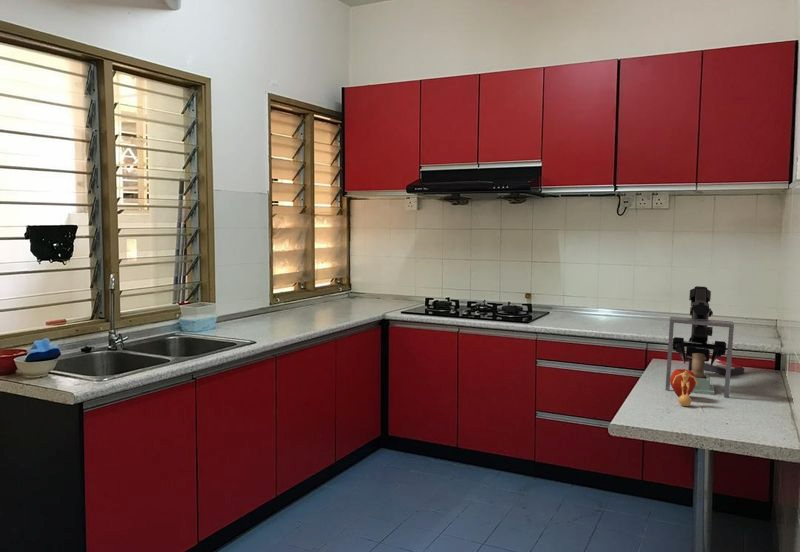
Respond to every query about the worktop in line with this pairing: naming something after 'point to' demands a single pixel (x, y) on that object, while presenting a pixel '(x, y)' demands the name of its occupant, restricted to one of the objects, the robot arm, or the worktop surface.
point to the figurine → (683, 399)
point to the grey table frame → (708, 323)
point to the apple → (677, 382)
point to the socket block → (704, 385)
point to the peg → (698, 365)
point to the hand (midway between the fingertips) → (698, 363)
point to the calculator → (722, 367)
